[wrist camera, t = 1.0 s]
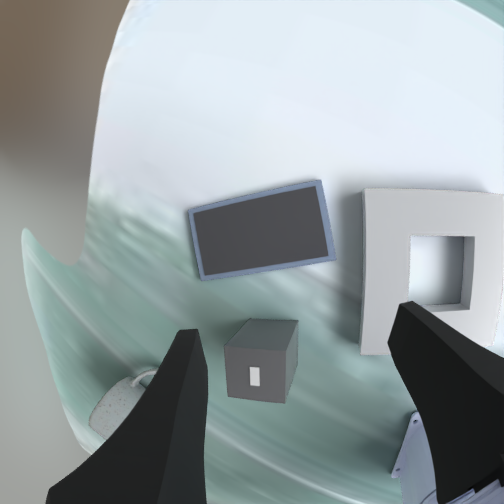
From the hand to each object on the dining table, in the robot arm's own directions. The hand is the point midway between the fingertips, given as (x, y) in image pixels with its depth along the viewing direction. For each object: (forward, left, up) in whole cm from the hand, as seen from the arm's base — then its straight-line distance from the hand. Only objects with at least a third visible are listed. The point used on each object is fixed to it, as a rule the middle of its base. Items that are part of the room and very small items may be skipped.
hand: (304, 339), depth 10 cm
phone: (+3, +5, -13) cm, 15 cm away
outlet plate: (0, -9, -13) cm, 16 cm away
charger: (-6, +4, -13) cm, 14 cm away
